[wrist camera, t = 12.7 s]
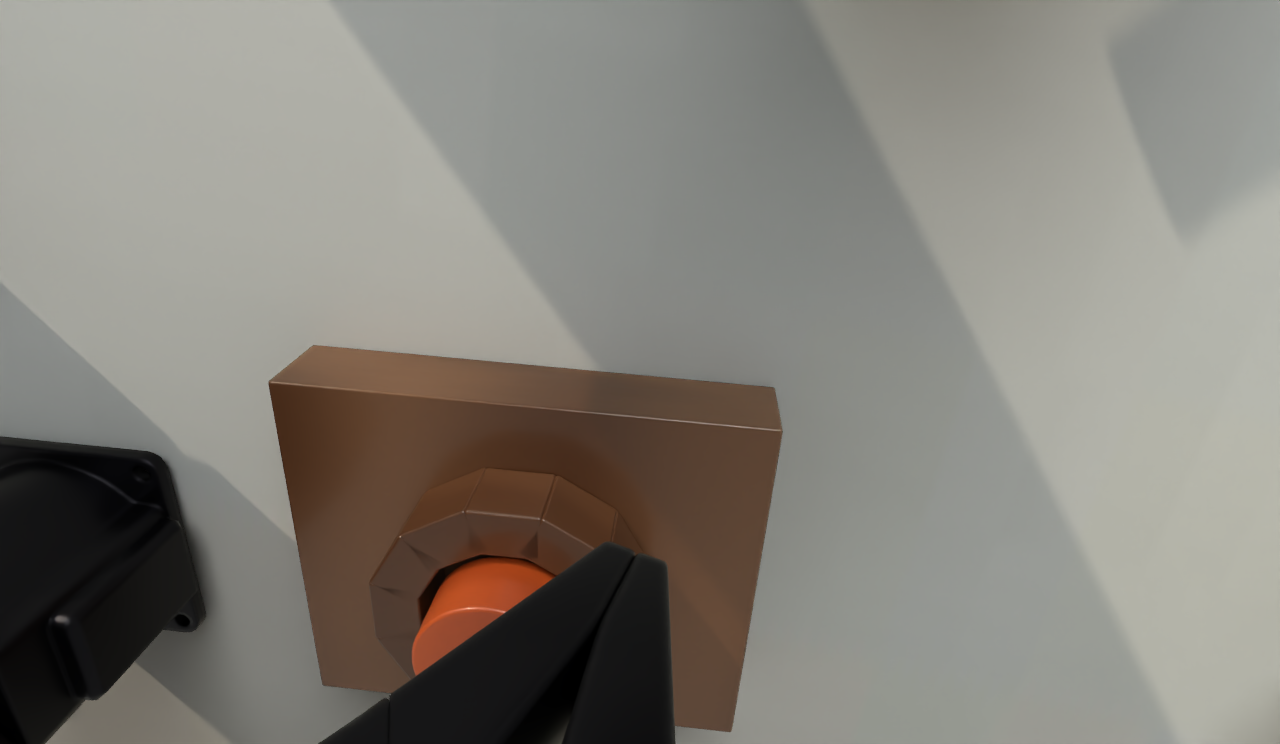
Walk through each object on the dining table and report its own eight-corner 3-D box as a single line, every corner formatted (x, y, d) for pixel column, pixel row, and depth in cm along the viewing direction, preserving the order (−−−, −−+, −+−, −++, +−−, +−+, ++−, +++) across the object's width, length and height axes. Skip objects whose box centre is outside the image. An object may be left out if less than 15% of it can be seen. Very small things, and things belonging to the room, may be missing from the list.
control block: (354, 630, 23) (290, 740, 20) (312, 344, 19) (220, 418, 15) (729, 671, 23) (734, 793, 19) (775, 386, 18) (791, 474, 15)
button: (440, 659, 18) (416, 718, 17) (431, 547, 17) (403, 600, 15) (581, 675, 18) (569, 736, 17) (585, 563, 17) (573, 619, 15)
